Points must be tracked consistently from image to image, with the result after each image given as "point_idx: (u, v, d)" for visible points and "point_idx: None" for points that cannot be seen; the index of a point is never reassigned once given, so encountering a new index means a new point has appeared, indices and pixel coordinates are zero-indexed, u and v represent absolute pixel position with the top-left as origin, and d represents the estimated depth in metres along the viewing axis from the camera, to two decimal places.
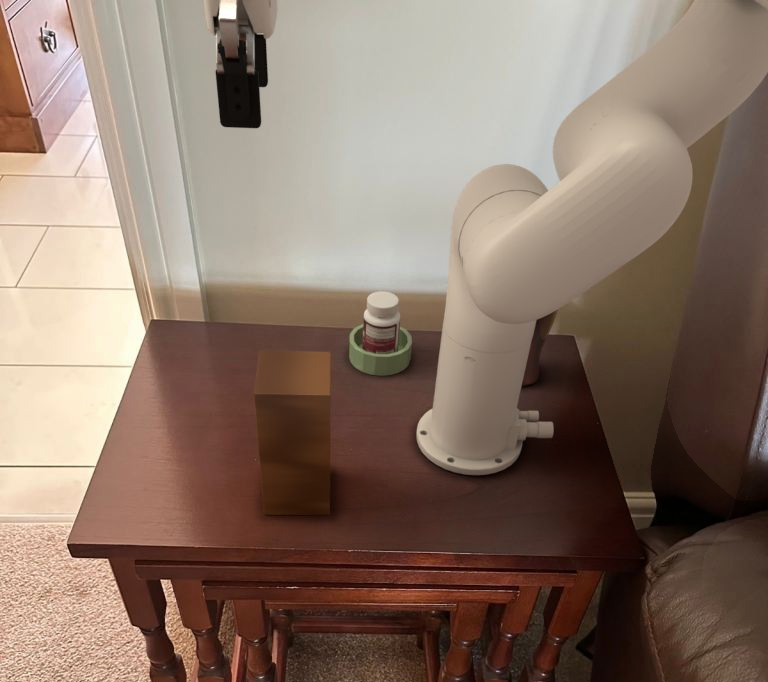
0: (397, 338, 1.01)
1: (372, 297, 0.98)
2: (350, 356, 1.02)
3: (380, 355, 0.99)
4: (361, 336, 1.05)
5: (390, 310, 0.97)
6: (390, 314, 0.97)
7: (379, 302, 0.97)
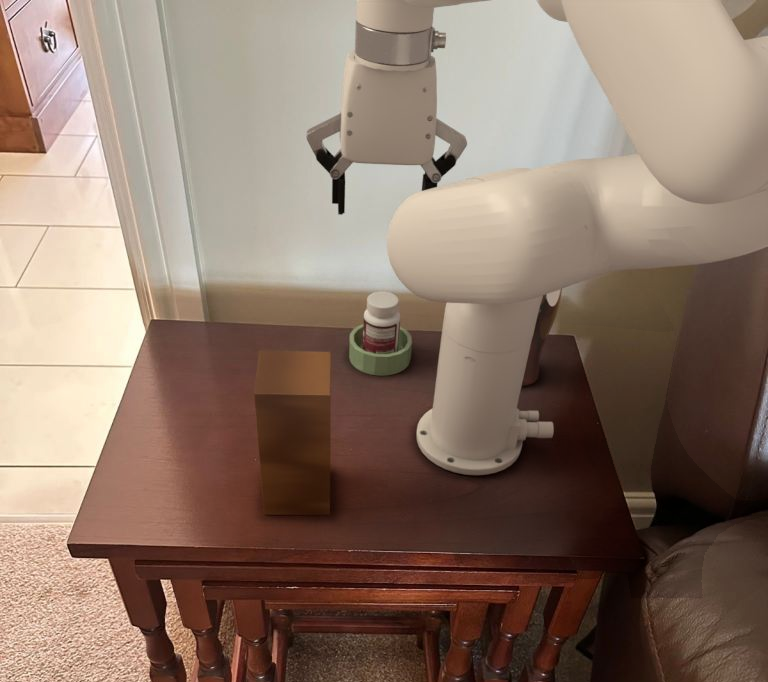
0: (397, 338, 1.01)
1: (372, 297, 0.98)
2: (350, 356, 1.02)
3: (380, 355, 0.99)
4: (361, 336, 1.05)
5: (390, 310, 0.97)
6: (390, 314, 0.97)
7: (379, 302, 0.97)
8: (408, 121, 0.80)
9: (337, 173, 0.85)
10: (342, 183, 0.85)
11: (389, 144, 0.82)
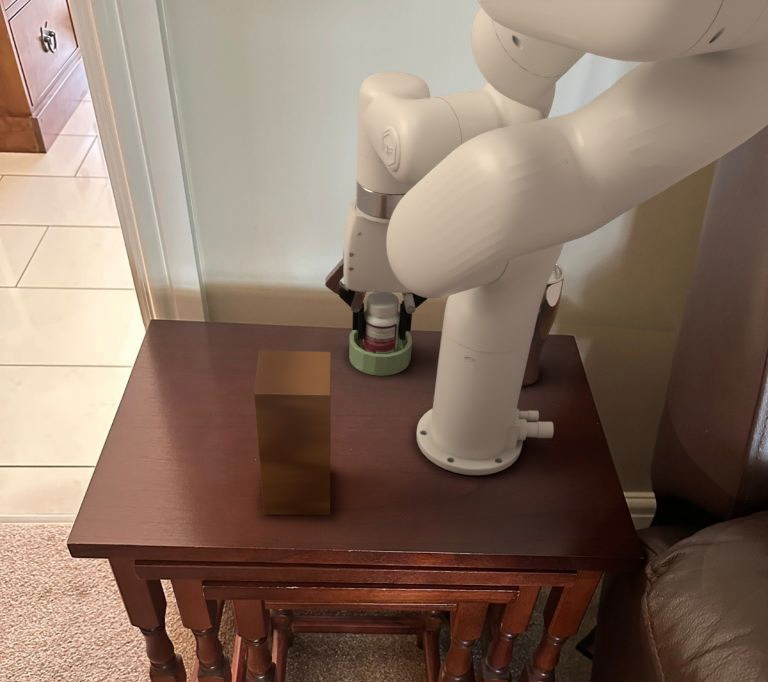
0: (397, 338, 1.01)
1: (372, 297, 0.98)
2: (350, 356, 1.02)
3: (380, 355, 0.99)
4: None
5: (390, 310, 0.97)
6: (390, 314, 0.97)
7: (378, 302, 0.97)
8: None
9: (357, 307, 0.97)
10: (361, 315, 0.98)
11: (386, 277, 0.93)
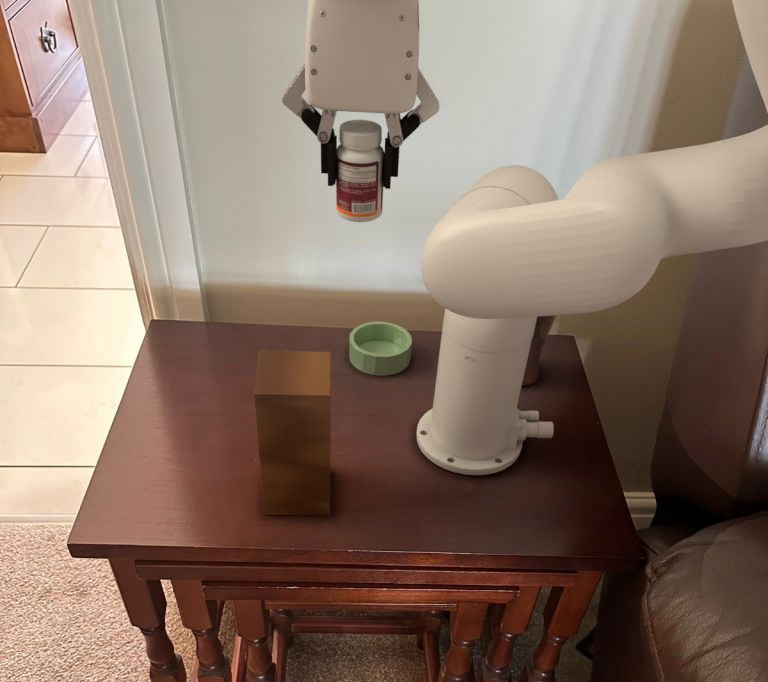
0: (380, 185, 0.76)
1: (347, 125, 0.74)
2: (350, 356, 1.02)
3: (380, 355, 0.99)
4: (361, 336, 1.05)
5: (369, 139, 0.73)
6: (369, 145, 0.73)
7: (354, 130, 0.73)
8: (383, 57, 0.67)
9: (326, 136, 0.73)
10: (331, 148, 0.73)
11: (361, 86, 0.69)
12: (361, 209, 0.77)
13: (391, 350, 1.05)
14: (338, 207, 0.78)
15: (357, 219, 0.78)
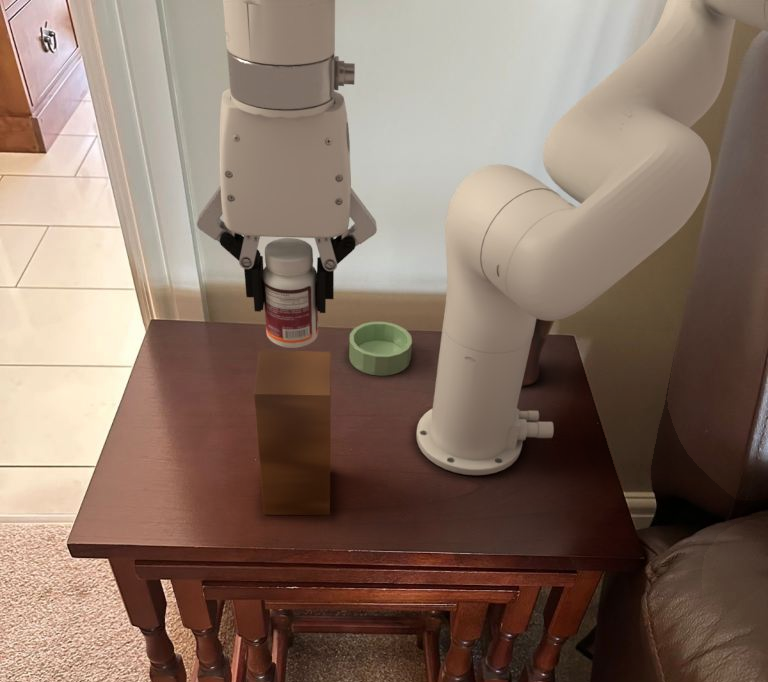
0: (314, 309, 0.68)
1: (273, 246, 0.65)
2: (350, 356, 1.02)
3: (380, 355, 0.99)
4: (361, 336, 1.05)
5: (298, 265, 0.64)
6: (299, 270, 0.65)
7: (281, 253, 0.64)
8: (309, 183, 0.59)
9: (249, 261, 0.64)
10: (256, 274, 0.65)
11: (286, 212, 0.60)
12: (294, 335, 0.68)
13: (391, 350, 1.05)
14: (268, 331, 0.69)
15: (290, 345, 0.69)
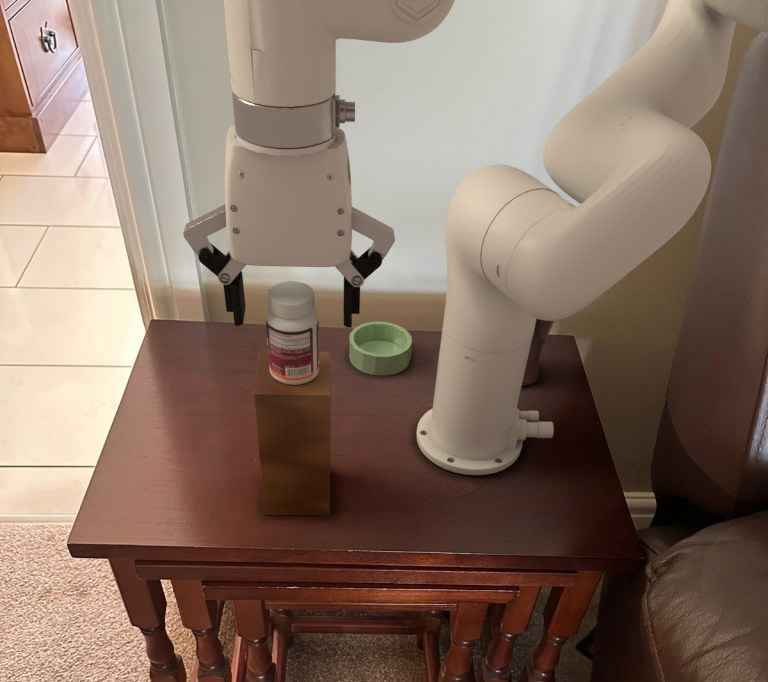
0: (315, 348, 0.71)
1: (276, 290, 0.68)
2: (350, 356, 1.02)
3: (380, 355, 0.99)
4: (361, 336, 1.05)
5: (300, 308, 0.67)
6: (301, 313, 0.67)
7: (284, 297, 0.67)
8: (312, 215, 0.61)
9: (228, 277, 0.65)
10: (235, 289, 0.66)
11: (289, 243, 0.62)
12: (296, 373, 0.71)
13: (391, 350, 1.05)
14: (271, 369, 0.72)
15: (292, 382, 0.72)
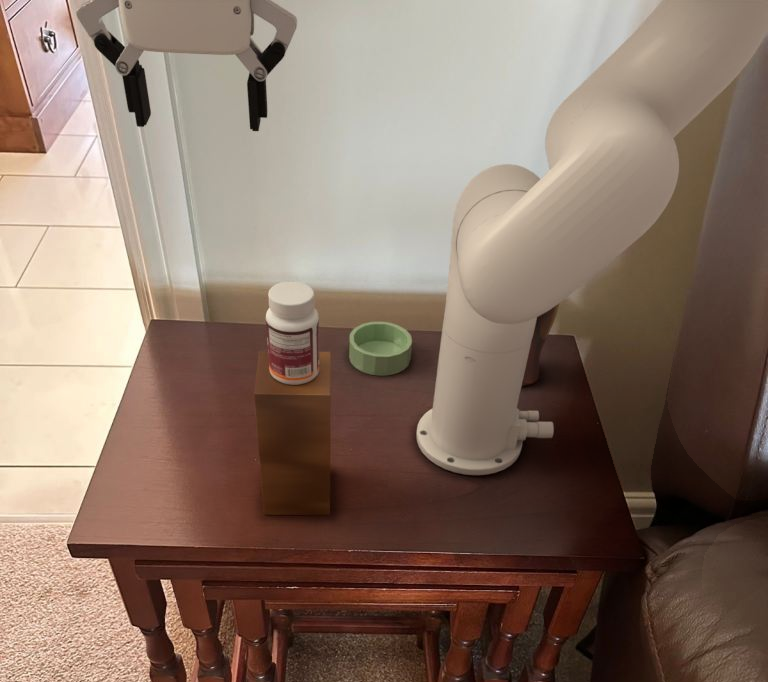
0: (315, 348, 0.71)
1: (276, 290, 0.68)
2: (350, 356, 1.02)
3: (380, 355, 0.99)
4: (361, 336, 1.05)
5: (300, 308, 0.67)
6: (301, 313, 0.67)
7: (284, 297, 0.67)
8: None
9: (126, 67, 0.63)
10: (134, 81, 0.64)
11: (185, 21, 0.60)
12: (296, 373, 0.71)
13: (391, 350, 1.05)
14: (271, 369, 0.72)
15: (292, 382, 0.72)
